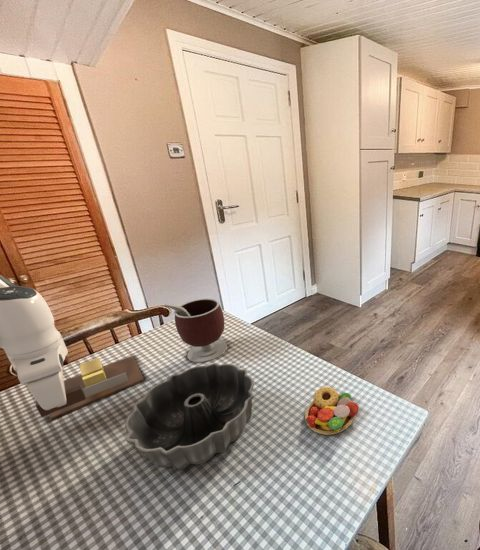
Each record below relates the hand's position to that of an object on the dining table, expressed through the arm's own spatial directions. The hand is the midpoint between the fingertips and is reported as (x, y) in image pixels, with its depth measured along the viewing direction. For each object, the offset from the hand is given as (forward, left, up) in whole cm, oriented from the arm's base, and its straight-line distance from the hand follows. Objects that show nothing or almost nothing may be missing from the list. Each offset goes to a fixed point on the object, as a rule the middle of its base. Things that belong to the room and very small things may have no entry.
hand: (61, 400), depth 74 cm
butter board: (+6, +12, -7) cm, 15 cm away
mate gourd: (+34, +6, -7) cm, 36 cm away
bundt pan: (+22, -27, -7) cm, 36 cm away
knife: (+4, 0, -2) cm, 4 cm away
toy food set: (+47, -46, -7) cm, 67 cm away
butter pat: (+6, +10, -6) cm, 13 cm away
